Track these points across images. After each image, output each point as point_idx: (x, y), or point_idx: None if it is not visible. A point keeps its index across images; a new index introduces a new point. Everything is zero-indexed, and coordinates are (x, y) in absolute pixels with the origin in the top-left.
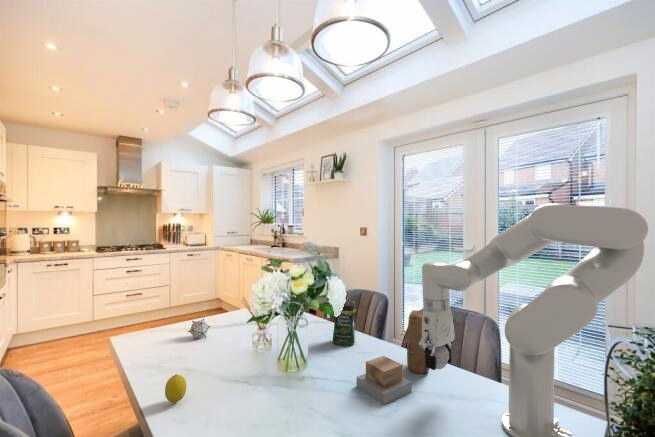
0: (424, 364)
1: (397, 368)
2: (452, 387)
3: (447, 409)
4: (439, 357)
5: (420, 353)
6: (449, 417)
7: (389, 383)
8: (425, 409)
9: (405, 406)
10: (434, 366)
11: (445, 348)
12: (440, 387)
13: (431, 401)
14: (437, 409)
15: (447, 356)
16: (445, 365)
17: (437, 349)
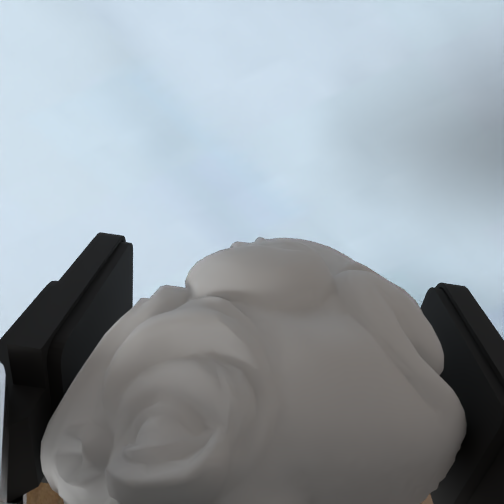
0: None
1: (429, 496)
2: (67, 185)
3: (348, 90)
4: (414, 355)
5: (47, 489)
6: (434, 35)
7: None
8: (443, 190)
9: (486, 282)
10: (482, 310)
11: (178, 422)
12: (133, 237)
13: (330, 205)
14: (393, 138)
15: (262, 282)
16: (284, 238)
17: (355, 496)
